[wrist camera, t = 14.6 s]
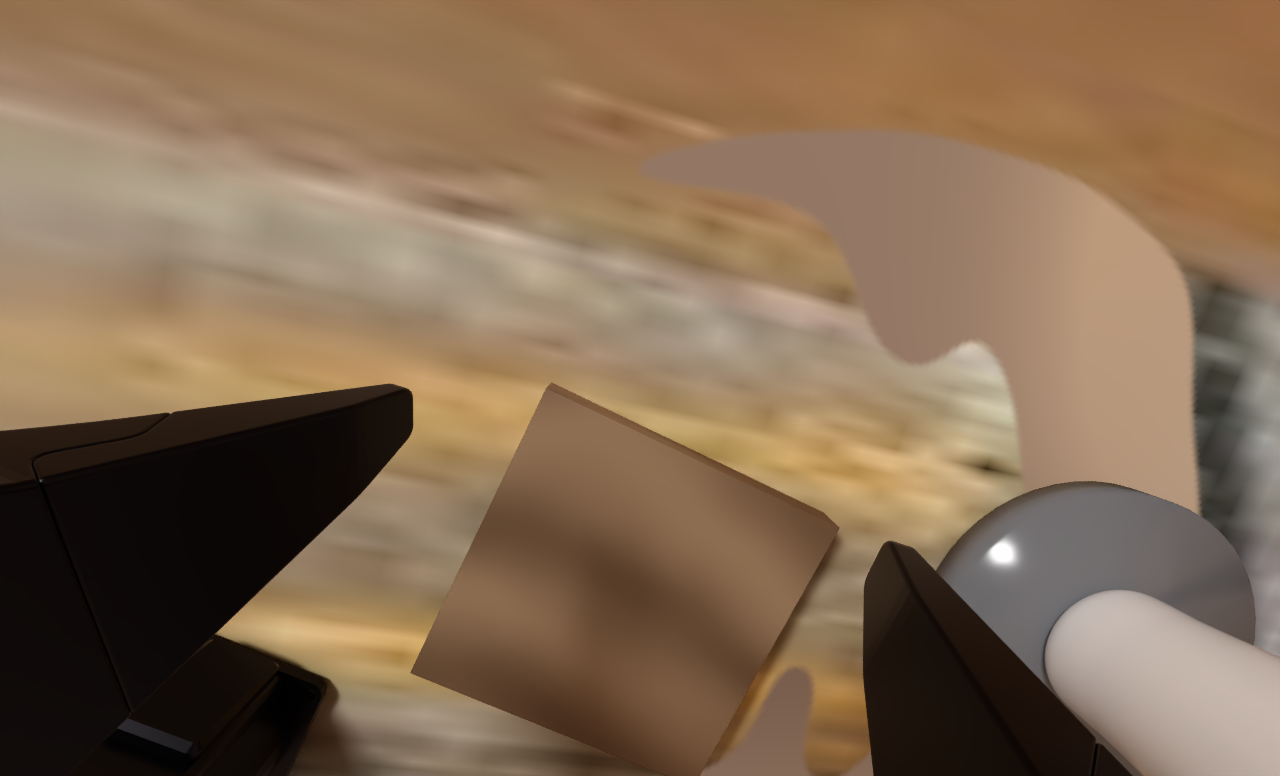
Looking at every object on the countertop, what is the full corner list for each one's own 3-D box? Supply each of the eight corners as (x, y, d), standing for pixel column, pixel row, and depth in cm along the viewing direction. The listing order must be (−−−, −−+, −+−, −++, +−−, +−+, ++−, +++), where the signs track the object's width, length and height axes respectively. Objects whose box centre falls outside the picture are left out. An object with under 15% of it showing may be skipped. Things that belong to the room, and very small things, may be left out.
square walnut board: (688, 755, 22) (693, 787, 21) (424, 647, 21) (410, 673, 19) (823, 512, 21) (839, 528, 19) (551, 382, 20) (546, 388, 18)
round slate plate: (1105, 804, 23) (1139, 838, 22) (860, 697, 22) (878, 724, 21) (1271, 559, 22) (1318, 576, 21) (1020, 428, 21) (1051, 437, 19)
